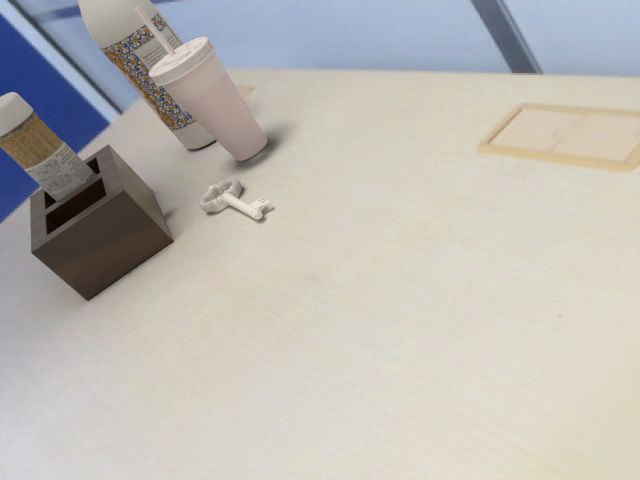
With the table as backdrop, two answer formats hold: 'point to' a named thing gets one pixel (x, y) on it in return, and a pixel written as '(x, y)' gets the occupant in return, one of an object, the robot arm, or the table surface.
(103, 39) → the bath foam
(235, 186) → the key
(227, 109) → the smoothie
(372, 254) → the table surface
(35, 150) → the sprinkles bottle
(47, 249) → the two-slot toaster box
